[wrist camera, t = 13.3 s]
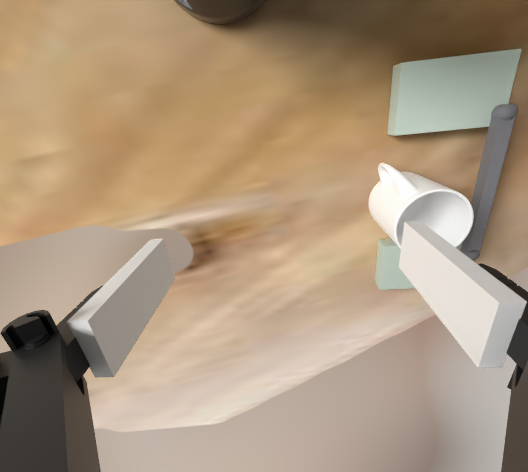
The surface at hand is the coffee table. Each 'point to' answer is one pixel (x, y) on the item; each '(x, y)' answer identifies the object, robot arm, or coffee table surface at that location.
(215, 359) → the coffee table surface
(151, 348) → the coffee table surface
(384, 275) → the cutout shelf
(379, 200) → the mug
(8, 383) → the robot arm
